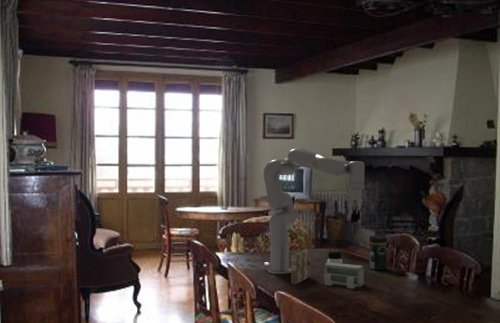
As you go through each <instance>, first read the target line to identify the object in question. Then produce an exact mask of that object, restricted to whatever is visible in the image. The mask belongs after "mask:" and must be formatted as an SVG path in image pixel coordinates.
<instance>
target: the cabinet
mask: <svg viewBox="0 0 500 323" xmlns="http://www.w3.org/2000/svg"><path fill="white" fill-rule="evenodd" d="M364 270H365V266H364V265H360V264H347V263H342V264H341V263H331V262H328V263H327V262H326V263H324V264H323V283H324V286H326V287H327V286H329V287H331V286H333V285H340V286H346V289H352V290H353V289H355V288H356V287H357V288H361V287H362V286H364V280H365V279H364Z"/></svg>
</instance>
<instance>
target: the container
mask: <svg viewBox="0 0 500 323" xmlns="http://www.w3.org/2000/svg"><path fill="white" fill-rule="evenodd" d="M327 254H328V256H327V257H328V259H327V261H326V263H328V262H331V263H341V264H343V259H342V252H341V251H339V250H329V251H328V253H327Z"/></svg>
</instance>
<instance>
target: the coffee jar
mask: <svg viewBox="0 0 500 323" xmlns="http://www.w3.org/2000/svg"><path fill="white" fill-rule="evenodd" d="M368 243H369V244H368V245H369V259H368V268H369V269H370V270H372V271H373V270H375V271H382V270H387V269H388V260H387V244H388V239H387V236H385V235H383V234H377V235H375V234H374V235H370V236H369V238H368Z"/></svg>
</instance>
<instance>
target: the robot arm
mask: <svg viewBox="0 0 500 323" xmlns="http://www.w3.org/2000/svg"><path fill="white" fill-rule="evenodd" d="M301 167H304V168H307V169H311V170H314V171H317V172H319V173H320V172H321V173H324V174H328V175H330V176H331V175H332V176H336V177H338V176H339V177H341V176H348V190H349V207H348V208H349V209H350V210H351V214H350V216H351V217H350V218H351V220H350V222H352V223H358V222H359V221H360V220H361V208H362V192H363V191H364V190H365V163H364V161H359V160H353V161H350V160H343V159H342V160H337V159H332V158H327V157H324V156H322V155H321V154H320V153H317V152H313V151H309V150H306V149H305V148H292V149H290V150H289V151H288V153H287V157H286V158H284V159H281V158H279V159H277V158H276V159H273V160H270V161H269V162H268V163H267V164H266V165H265V167H264V169H263V179H264V180H263V181H264V186H265V191H266V197H267V202H268V206H269V209H271V210H272V211H277V212H276V213H273V214H272V215H271V216H270V218H269V220H268V221H269V224H268V225H269V231H270V262H266V261H265V262H264V263H263V264H264V267H266V268H267V273H270V274H273V275H286V274H291V268H289V261H290V260H289V257H290V254H289V250H290V249H289V246H290V245H289V239H290V238H289V232H288V229H291V228H293V227H294V225H295V223H296V214H295V208H294V203H293V198H292V196H291V195H290V194H289V193H288V192H287V191H283V188H282V182H281V179H280V177H279V176H288V175H290V174H293V172H295V171H297V170H299V169H300V168H301Z"/></svg>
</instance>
